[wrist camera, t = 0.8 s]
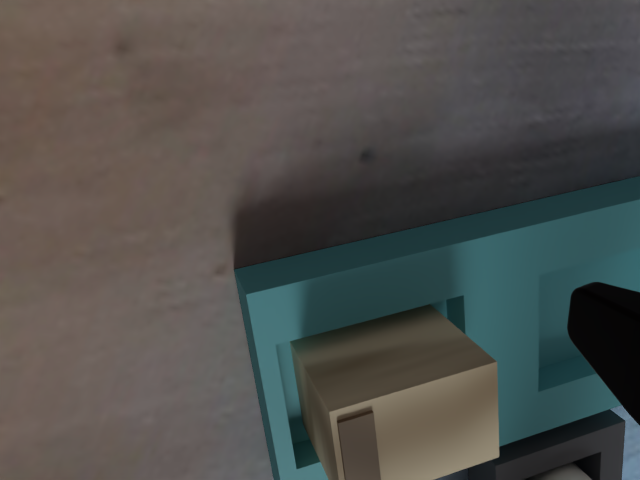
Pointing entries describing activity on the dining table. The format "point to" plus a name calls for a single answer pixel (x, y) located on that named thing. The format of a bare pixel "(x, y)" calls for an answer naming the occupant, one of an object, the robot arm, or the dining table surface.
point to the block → (397, 398)
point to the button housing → (562, 451)
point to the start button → (562, 473)
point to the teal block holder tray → (453, 305)
